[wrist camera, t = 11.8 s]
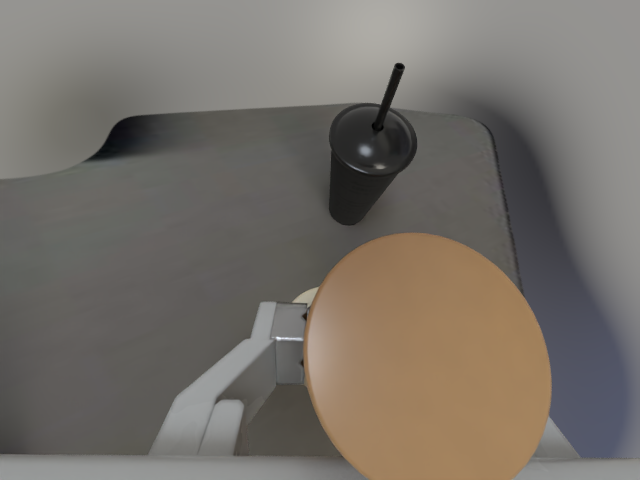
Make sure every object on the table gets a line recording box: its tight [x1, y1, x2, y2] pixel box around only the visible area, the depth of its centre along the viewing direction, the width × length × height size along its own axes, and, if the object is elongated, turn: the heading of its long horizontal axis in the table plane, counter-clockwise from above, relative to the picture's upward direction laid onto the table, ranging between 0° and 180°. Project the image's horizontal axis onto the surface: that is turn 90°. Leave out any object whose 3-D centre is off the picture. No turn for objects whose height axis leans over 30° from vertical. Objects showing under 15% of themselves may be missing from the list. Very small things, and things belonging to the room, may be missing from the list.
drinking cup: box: [329, 63, 417, 225], centre depth 27 cm, size 8×8×20 cm
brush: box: [292, 233, 552, 480], centre depth 10 cm, size 5×5×15 cm
